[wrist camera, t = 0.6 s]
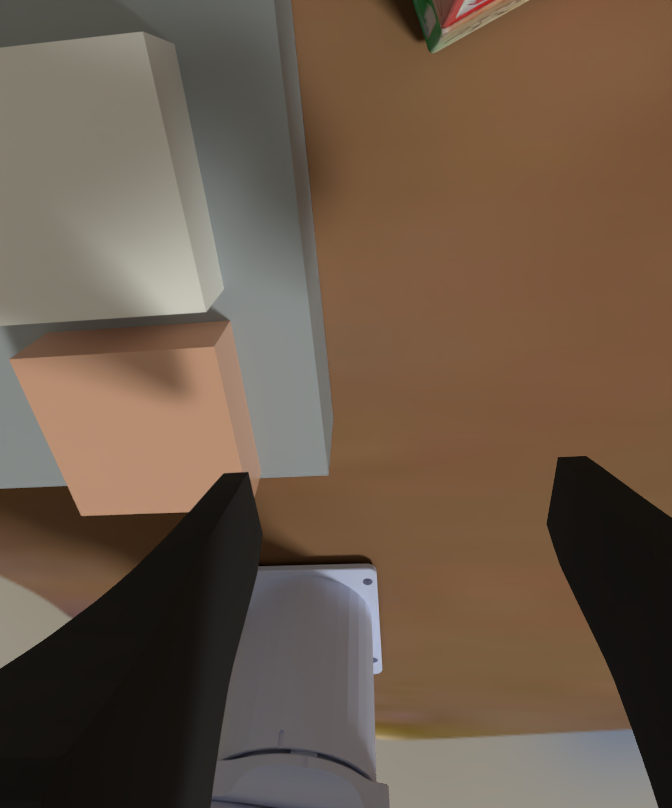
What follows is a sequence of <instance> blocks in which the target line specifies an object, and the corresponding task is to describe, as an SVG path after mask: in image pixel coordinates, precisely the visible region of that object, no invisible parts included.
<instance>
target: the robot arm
mask: <svg viewBox="0 0 672 808" xmlns="http://www.w3.org/2000/svg"><path fill="white" fill-rule="evenodd" d="M547 527H548V530H549V533H550V536H551V540H552V543H553V546H554V549H555V552H556V555H557V558H558V561H559V563H560V566H561V568H562V570H563V572H564V575H565V577H566V579H567V581H568V583H569V585H570V587H571V589H572V592H573V594H574V596H575V598H576V600H577V602H578V604H579V606H580V608H581V610H582V612H583V614H584V616H585V619H586V621H587V623H588V625H589V627H590V629H591V631H592V633H593V635H594V637H595V639H596V641H597V643H598V645H599V648H600V650H601V652H602V654H603V656H604V658H605V660H606V663H607V665H608V667H609V669H610V672H611V674H612V676H613V679H614V681H615V684H616V687H617V689H618V692H619V695H620V697H621V700H622V703H623V706H624V708H625V711H626V714H627V716H628V719H629V722H630V725H631V727H632V730H633V733H634V736H635V739H636V742H637V745H638V748H639V750H640V753H641V756H642V759H643V762H644V765H645V768H646V771H647V774H648V776H649V779H650V782H651V786H652V789H653V792H654V795H655V798H656V801H657V804H658V807H659V808H672V518H671V517H670V516H668V515H667V514H665V513H664V512H663V511H661V510H660V509H658V508H657V507H656V506H654V505H653V504H651V503H650V502H648V501H647V500H646V499H644V498H643V497H642V496H640V495H639V494H637V493H636V492H635V491H633V490H632V489H631V488H629V487H628V486H627V485H625V484H624V483H623V482H621V481H620V480H618V479H617V478H616V477H614V476H613V475H612V474H610V473H609V472H608V471H606V470H605V469H604V468H602V467H601V466H599V465H598V464H597V463H595V462H594V461H592V460H591V459H589V458H588V457H586V456H578V457H558V461H557V467H556V472H555V478H554V484H553V490H552V496H551V502H550V508H549V513H548V519H547ZM261 542H262V530H261V526H260V521H259V517H258V512H257V508H256V503H255V499H254V494H253V490H252V486H251V481H250V477H249V472H237V473H223V475H222V476H221V477H220V478H219V479H218V480H217V481H216V482H215V483H214V484H213V485H212V487H211V488H210V489H209V490H208V491H207V492H206V493H205V495H204V496H203V497H202V498H201V499H200V500H199V501H198V503H197V504H196V505H195V506H194V507H193V508H192V509H191V510H190V512H189V513H188V514H187V515H186V516H185V517H184V518H183V519H182V520H181V521H180V522H179V524H178V525H177V526H176V527H175V528H174V529H173V530H172V531H171V532H170V533H169V534H168V535H167V537H166V538H165V539H164V540H163V541H162V542H161V543H160V544H159V545H158V546H157V547H156V548H155V549H154V550H153V551H152V552H151V553H150V554H149V555H148V556H147V557H145V558H144V559H143V560H142V561H141V562H140V563H139V564H138V565H137V566H136V567H135V568H134V569H133V570H132V571H131V572H130V573H129V574H127V575H126V576H125V577H124V578H123V579H122V580H121V581H119V582H118V583H117V584H116V585H115V586H114V587H112V588H111V589H110V590H109V591H108V592H106V593H105V594H104V595H103V596H102V597H100V598H99V599H98V600H97V601H95V602H94V603H93V604H92V605H90V606H89V607H88V608H86V609H85V610H84V611H82V612H81V613H80V614H78V615H77V616H76V617H74V618H73V619H72V620H70V621H69V622H68V623H66V624H65V625H64V626H62V627H61V628H60V629H58V630H57V631H56V632H54V633H53V634H52V635H50V636H49V637H47V638H46V639H44V640H43V641H42V642H40V643H39V644H37V645H36V646H34V647H33V648H31V649H30V650H28V651H27V652H25V653H24V654H22V655H21V656H19V657H18V658H16V659H15V660H13V661H11V662H10V663H8V664H7V665H5V666H4V667H2V668H1V669H0V808H389V787H388V785H387V784H383V783H377V782H376V751H375V713H374V676H373V674H378V673H380V672H381V671H382V656H381V639H380V622H379V606H378V589H377V572H376V567H375V566H374V565H371V564H367V563H366V564H328V565H291V566H258V565H259V558H260V551H261ZM367 578H368V579H367Z"/></svg>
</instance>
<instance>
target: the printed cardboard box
mask: <svg viewBox="0 0 672 808" xmlns="http://www.w3.org/2000/svg"><path fill="white" fill-rule="evenodd" d="M527 1H529V0H413V3H414V6H415V10H416V13H417V16H418V19H419V22H420V25H421V28H422V31H423V34H424V37H425V41H426V44H427V47H428V50H429V51H430V53H435V52H438V51H439V50H441V49H443V48H445V47H446V46H448V45H450V44H452V43H454V42H455V41H457V40H459V39H461V38H462V37H464V36H466V35H468V34H470V33H471V32H473V31H475V30H477V29H479V28H480V27H482V26H484V25H486V24H488V23H489V22H491V21H493V20H495V19H497V18H498V17H500V16H502V15H504V14H506V13H507V12H509V11H511V10H513V9H515V8H516V7H518V6H520V5H522V4H523V3H525V2H527Z"/></svg>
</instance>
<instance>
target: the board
mask: <svg viewBox="0 0 672 808" xmlns="http://www.w3.org/2000/svg"><path fill="white" fill-rule="evenodd" d="M134 32H145V33H148V34H150V35H153V36H156V37H158V38H161V39H163V40H166V41H168V42H171V43H174V44H175V49H176V54H177V59H178V64H179V69H180V74H181V79H182V84H183V89H184V94H185V99H186V103H187V108H188V113H189V118H190V123H191V128H192V133H193V138H194V143H195V148H196V153H197V158H198V163H199V168H200V173H201V178H202V183H203V187H204V192H205V197H206V202H207V207H208V212H209V217H210V222H211V227H212V232H213V237H214V242H215V247H216V252H217V257H218V262H219V266H220V271H221V276H222V281H223V286H224V290H223V291H222V292H221V294H220V295H219V296H218V298H217V299H216V300H215V302H214V303H213V304H212V305H211V307H210V308H209V309H208V311H207V312H201V313H186V314H171V315H156V316H141V317H126V318H112V319H97V320H82V321H67V322H52V323H37V324H22V325H8V326H0V489H3V488H28V487H52V486H67V484H66V482H65V480H64V478H63V475H62V473H61V471H60V469H59V467H58V465H57V462H56V460H55V458H54V456H53V454H52V452H51V449H50V447H49V445H48V443H47V441H46V439H45V436H44V434H43V432H42V430H41V428H40V426H39V424H38V421H37V419H36V417H35V415H34V413H33V411H32V408H31V406H30V404H29V402H28V400H27V398H26V395H25V393H24V391H23V389H22V387H21V385H20V382H19V380H18V378H17V376H16V374H15V372H14V370H13V367H12V365H11V363H10V361H9V359H10V358H11V357H13V356H14V355H16V354H17V353H19V352H20V351H22V350H23V349H24V348H26V347H27V346H29V345H30V344H32V343H33V342H34V341H36V340H37V339H39V338H40V337H42V336H43V335H44V334H46V333H49V332H64V331H79V330H95V329H110V328H125V327H140V326H155V325H171V324H186V323H201V322H216V321H231V326H232V331H233V336H234V341H235V346H236V350H237V355H238V360H239V365H240V370H241V375H242V380H243V385H244V390H245V395H246V400H247V405H248V410H249V415H250V420H251V425H252V430H253V434H254V439H255V444H256V449H257V454H258V459H259V464H260V469H261V475H260V478H274V477H299V476H323V475H329V463H330V451H331V439H332V427H333V410H332V400H331V391H330V381H329V371H328V361H327V351H326V341H325V331H324V322H323V312H322V302H321V292H320V282H319V272H318V262H317V252H316V243H315V233H314V223H313V213H312V203H311V193H310V183H309V173H308V164H307V154H306V144H305V134H304V124H303V114H302V104H301V95H300V85H299V75H298V65H297V55H296V45H295V35H294V25H293V16H292V6H291V0H0V48H1V47H10V46H19V45H28V44H37V43H46V42H54V41H63V40H72V39H81V38H90V37H98V36H107V35H116V34H125V33H134Z"/></svg>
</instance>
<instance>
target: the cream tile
mask: <svg viewBox="0 0 672 808" xmlns="http://www.w3.org/2000/svg"><path fill="white" fill-rule="evenodd" d="M223 290H224V286H223V281H222V276H221V271H220V266H219V262H218V257H217V252H216V247H215V242H214V237H213V232H212V227H211V222H210V217H209V212H208V207H207V202H206V197H205V192H204V187H203V183H202V178H201V173H200V168H199V163H198V158H197V153H196V148H195V143H194V138H193V133H192V128H191V123H190V118H189V113H188V108H187V103H186V99H185V94H184V89H183V84H182V79H181V74H180V69H179V64H178V59H177V54H176V49H175V44H174V43H171V42H168V41H166V40H163V39H161V38H158V37H156V36H153V35H150V34H148V33H145V32H134V33H125V34H116V35H107V36H98V37H90V38H81V39H72V40H63V41H54V42H46V43H37V44H28V45H19V46H10V47H1V48H0V326H8V325H22V324H37V323H52V322H67V321H82V320H97V319H112V318H126V317H141V316H156V315H171V314H186V313H201V312H207V311H208V309H209V308H210V307H211V305H212V304H213V303H214V302H215V300H216V299H217V298H218V296H219V295H220V294H221V292H222V291H223Z"/></svg>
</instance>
